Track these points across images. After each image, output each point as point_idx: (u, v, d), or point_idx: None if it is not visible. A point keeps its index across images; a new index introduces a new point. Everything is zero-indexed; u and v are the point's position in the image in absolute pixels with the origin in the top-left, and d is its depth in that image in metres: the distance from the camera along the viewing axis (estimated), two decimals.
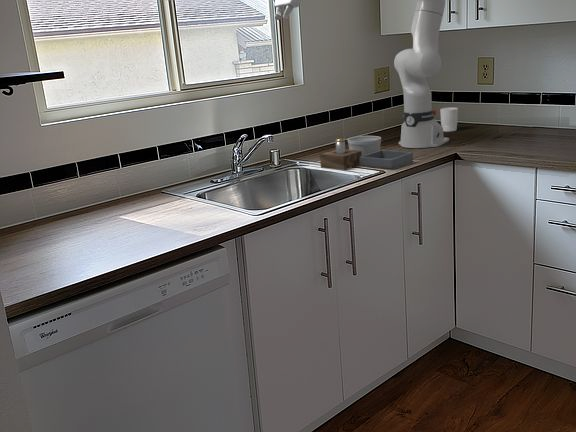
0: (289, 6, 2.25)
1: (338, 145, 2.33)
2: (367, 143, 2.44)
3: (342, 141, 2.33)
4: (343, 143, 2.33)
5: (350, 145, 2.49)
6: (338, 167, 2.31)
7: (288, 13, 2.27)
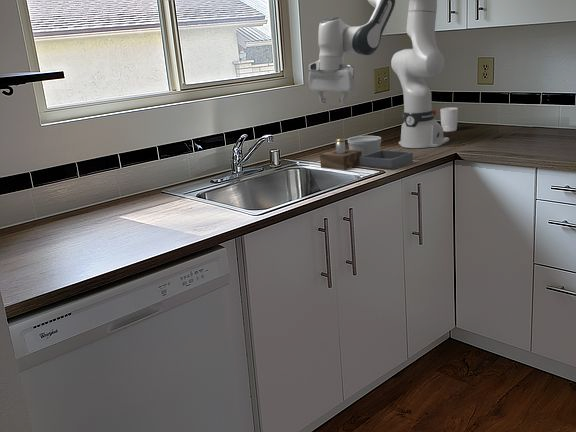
0: (345, 92, 2.25)
1: (338, 145, 2.33)
2: (367, 143, 2.44)
3: (342, 141, 2.33)
4: (343, 143, 2.33)
5: (350, 145, 2.49)
6: (338, 167, 2.31)
7: (345, 98, 2.26)
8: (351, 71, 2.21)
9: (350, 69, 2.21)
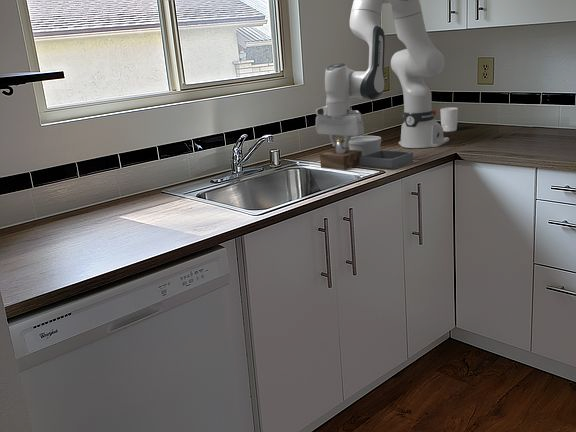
0: (348, 136, 2.31)
1: (338, 145, 2.33)
2: (367, 143, 2.44)
3: (342, 141, 2.33)
4: None
5: (350, 145, 2.49)
6: (338, 167, 2.31)
7: (348, 141, 2.33)
8: (359, 117, 2.25)
9: (358, 115, 2.25)
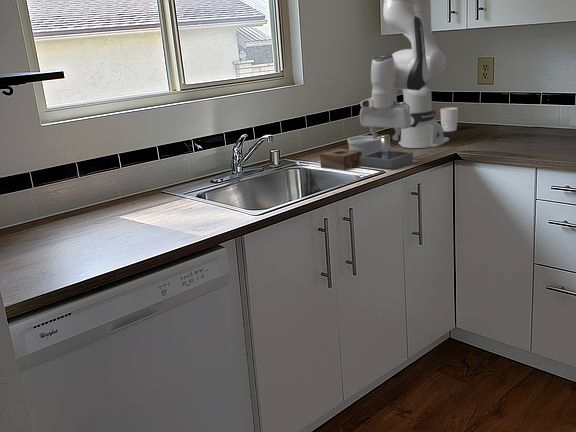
0: (398, 129, 2.26)
1: (384, 141, 2.30)
2: (367, 143, 2.44)
3: (387, 137, 2.30)
4: (388, 139, 2.30)
5: (350, 145, 2.49)
6: (338, 167, 2.31)
7: (398, 134, 2.27)
8: (406, 108, 2.21)
9: (405, 106, 2.21)
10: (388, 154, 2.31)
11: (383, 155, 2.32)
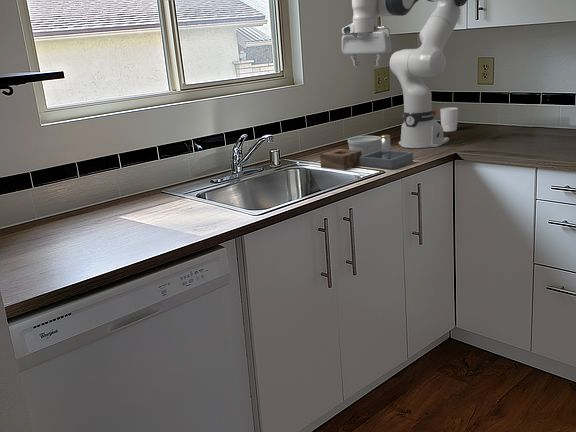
0: (380, 54, 2.27)
1: (384, 141, 2.30)
2: (367, 143, 2.44)
3: (388, 137, 2.30)
4: (389, 139, 2.30)
5: (350, 145, 2.49)
6: (338, 167, 2.31)
7: (380, 60, 2.29)
8: (386, 32, 2.23)
9: (385, 30, 2.23)
10: (388, 154, 2.31)
11: (383, 155, 2.32)
